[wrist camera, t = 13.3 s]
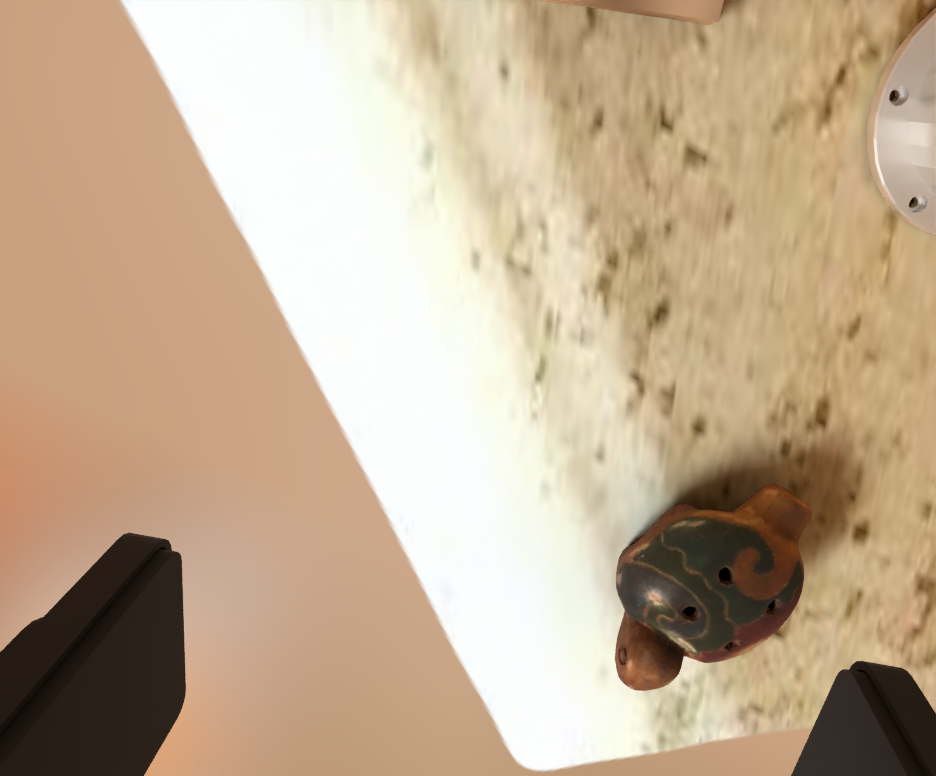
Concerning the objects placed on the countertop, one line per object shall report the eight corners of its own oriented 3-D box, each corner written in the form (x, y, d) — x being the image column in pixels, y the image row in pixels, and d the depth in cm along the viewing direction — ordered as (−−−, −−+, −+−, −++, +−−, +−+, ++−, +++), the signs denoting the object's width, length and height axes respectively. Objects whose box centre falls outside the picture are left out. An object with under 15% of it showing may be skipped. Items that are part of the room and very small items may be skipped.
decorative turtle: (563, 586, 49) (567, 664, 41) (708, 421, 44) (743, 475, 36) (674, 660, 49) (698, 750, 42) (828, 506, 45) (887, 575, 37)
